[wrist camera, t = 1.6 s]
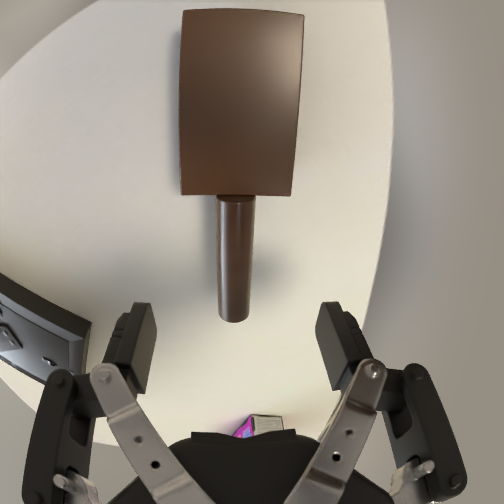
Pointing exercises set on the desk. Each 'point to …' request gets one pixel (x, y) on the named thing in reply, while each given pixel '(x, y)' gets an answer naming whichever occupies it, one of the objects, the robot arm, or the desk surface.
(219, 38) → the brush
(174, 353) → the desk surface
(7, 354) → the picture frame
